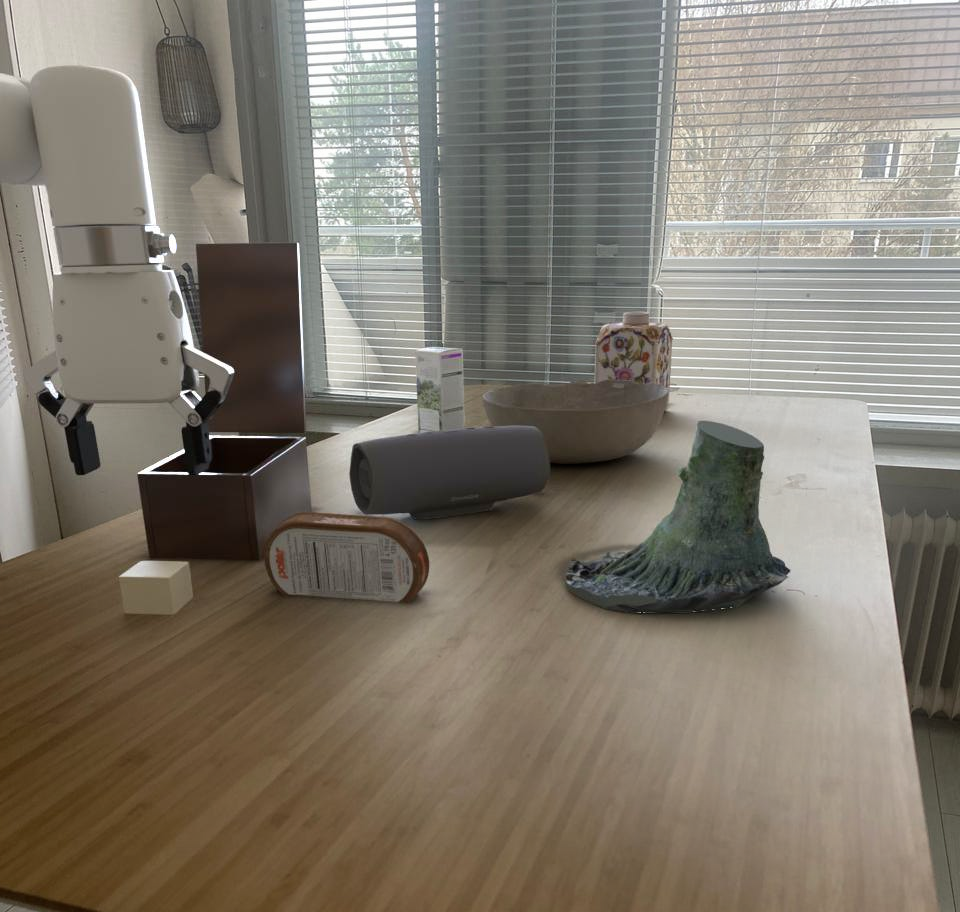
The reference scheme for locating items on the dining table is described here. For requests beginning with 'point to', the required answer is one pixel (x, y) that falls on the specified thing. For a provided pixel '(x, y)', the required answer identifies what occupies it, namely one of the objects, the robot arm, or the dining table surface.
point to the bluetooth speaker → (448, 470)
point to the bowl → (582, 416)
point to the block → (156, 587)
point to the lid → (254, 333)
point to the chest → (225, 498)
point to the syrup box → (439, 388)
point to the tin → (346, 557)
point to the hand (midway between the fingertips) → (143, 471)
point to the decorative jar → (634, 351)
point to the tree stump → (694, 538)
